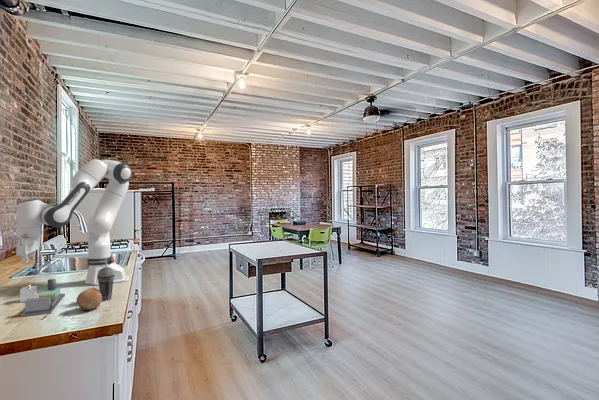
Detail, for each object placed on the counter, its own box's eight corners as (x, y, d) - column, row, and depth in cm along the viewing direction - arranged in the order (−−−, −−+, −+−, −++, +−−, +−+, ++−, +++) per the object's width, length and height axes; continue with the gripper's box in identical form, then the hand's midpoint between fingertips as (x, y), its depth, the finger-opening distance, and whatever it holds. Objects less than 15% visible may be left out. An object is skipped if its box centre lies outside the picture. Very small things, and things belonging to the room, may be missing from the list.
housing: (37, 297, 153) (37, 283, 152) (33, 301, 148) (33, 286, 148) (23, 299, 150) (23, 284, 150) (20, 302, 146) (20, 287, 146)
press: (65, 295, 156) (65, 283, 156) (50, 313, 133) (50, 299, 133) (39, 298, 152) (39, 286, 152) (20, 317, 129) (20, 302, 128)
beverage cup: (96, 302, 146) (96, 260, 146) (97, 298, 153) (97, 257, 153) (114, 300, 150) (114, 259, 149) (115, 296, 156) (115, 256, 156)
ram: (60, 294, 155) (60, 278, 155) (54, 300, 146) (54, 283, 146) (45, 295, 153) (45, 279, 153) (38, 302, 143) (38, 285, 143)
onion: (94, 312, 142) (101, 290, 146) (101, 311, 136) (108, 288, 141) (70, 310, 136) (78, 286, 140) (76, 309, 130) (85, 284, 134)
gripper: (29, 235, 141) (29, 265, 141) (43, 230, 159) (42, 257, 159) (11, 235, 138) (11, 266, 138) (27, 231, 156) (27, 258, 156)
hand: (28, 261), depth 149 cm, fingers open, 8 cm apart
